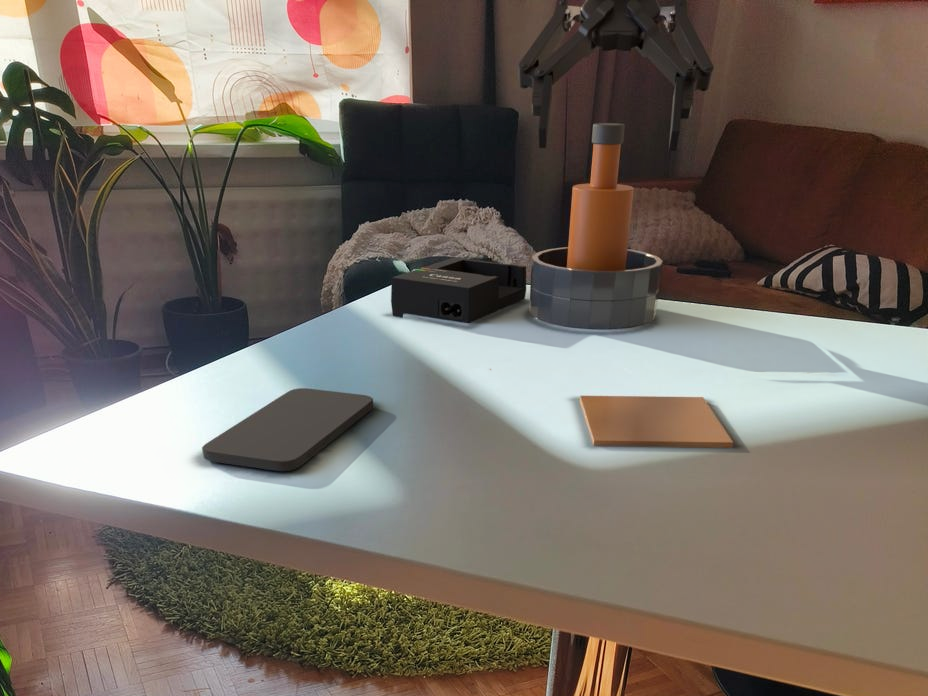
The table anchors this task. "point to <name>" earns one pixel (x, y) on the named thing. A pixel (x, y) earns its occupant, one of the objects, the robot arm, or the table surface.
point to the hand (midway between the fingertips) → (607, 140)
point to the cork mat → (653, 422)
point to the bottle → (601, 208)
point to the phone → (288, 429)
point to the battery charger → (458, 289)
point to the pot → (594, 292)
